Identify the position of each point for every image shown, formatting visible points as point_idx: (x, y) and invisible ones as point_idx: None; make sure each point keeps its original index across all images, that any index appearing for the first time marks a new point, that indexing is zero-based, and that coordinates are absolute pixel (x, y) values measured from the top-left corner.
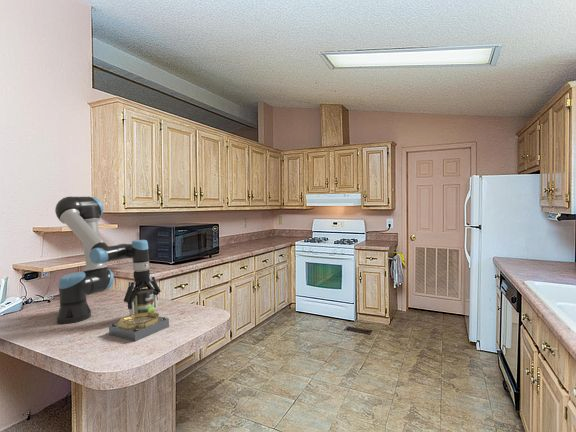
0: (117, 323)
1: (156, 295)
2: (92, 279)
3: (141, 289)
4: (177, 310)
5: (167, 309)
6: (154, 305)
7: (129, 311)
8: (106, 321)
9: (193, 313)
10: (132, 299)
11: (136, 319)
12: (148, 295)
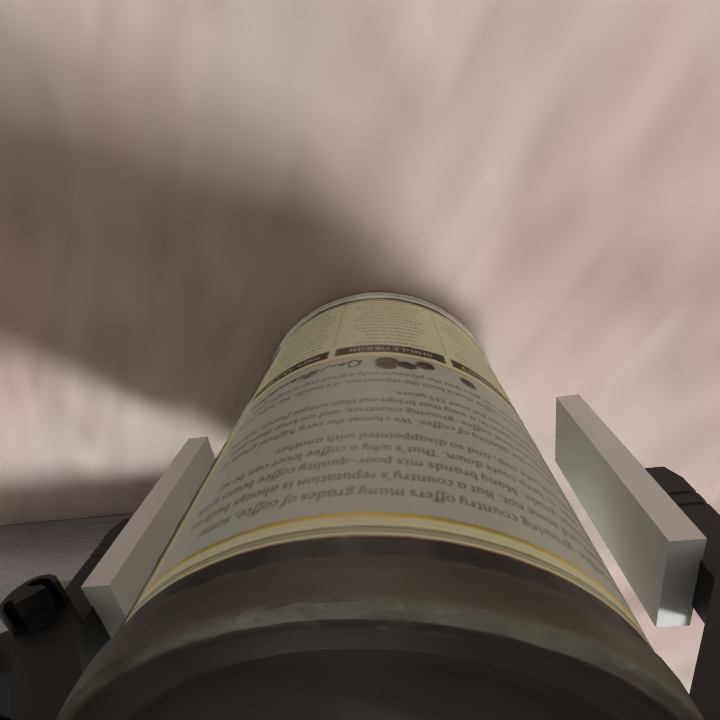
0: (2, 600)
1: (680, 614)
2: None
3: (499, 668)
4: (713, 501)
5: (716, 378)
6: (565, 449)
7: (169, 465)
8: (6, 113)
9: (675, 662)
10: None
11: None
12: None
